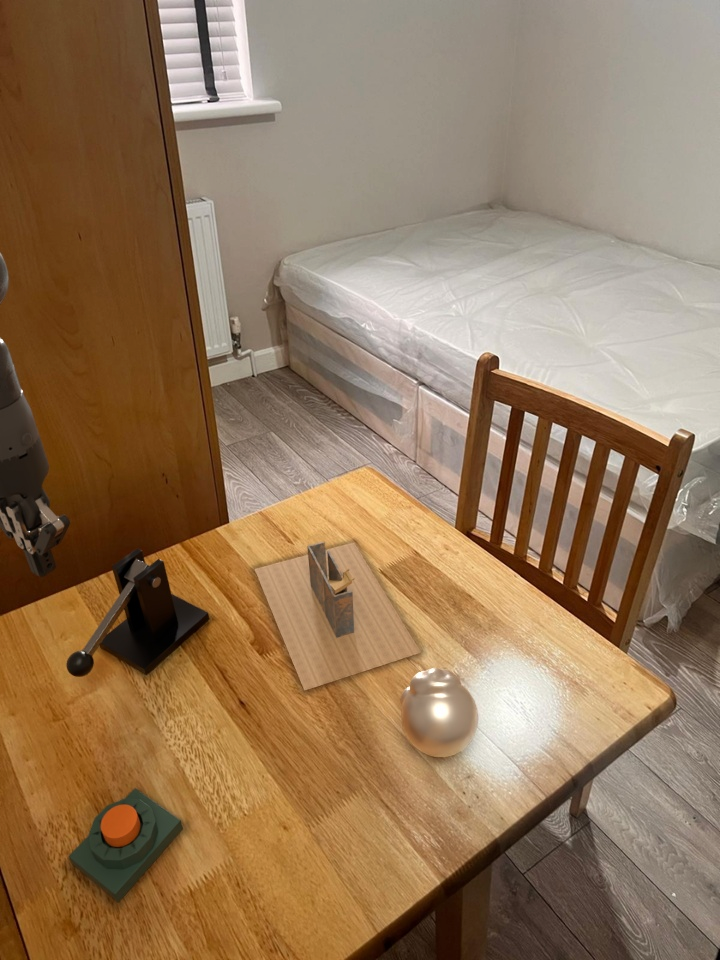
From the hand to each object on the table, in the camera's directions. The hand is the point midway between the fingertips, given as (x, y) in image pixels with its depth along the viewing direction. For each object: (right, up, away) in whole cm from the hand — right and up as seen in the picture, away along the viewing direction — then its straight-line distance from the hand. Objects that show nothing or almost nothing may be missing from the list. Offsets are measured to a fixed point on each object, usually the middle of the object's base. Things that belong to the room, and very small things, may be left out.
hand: (45, 571), depth 82 cm
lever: (+4, -8, +13) cm, 16 cm away
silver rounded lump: (+44, -21, +5) cm, 49 cm away
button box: (+11, -28, -5) cm, 31 cm away
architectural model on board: (+31, -8, +23) cm, 40 cm away
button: (+11, -26, -7) cm, 29 cm away
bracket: (+7, -11, +20) cm, 24 cm away
